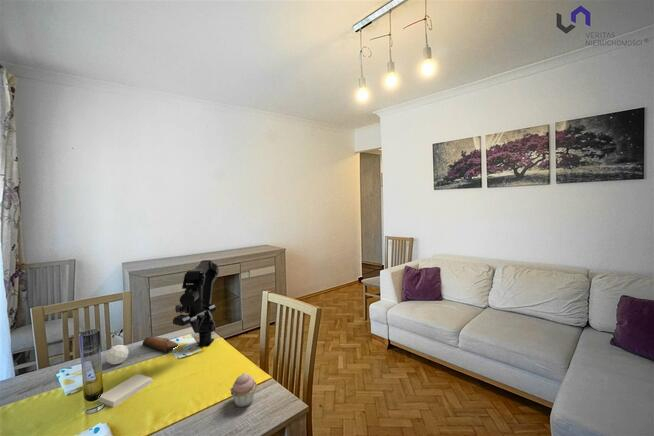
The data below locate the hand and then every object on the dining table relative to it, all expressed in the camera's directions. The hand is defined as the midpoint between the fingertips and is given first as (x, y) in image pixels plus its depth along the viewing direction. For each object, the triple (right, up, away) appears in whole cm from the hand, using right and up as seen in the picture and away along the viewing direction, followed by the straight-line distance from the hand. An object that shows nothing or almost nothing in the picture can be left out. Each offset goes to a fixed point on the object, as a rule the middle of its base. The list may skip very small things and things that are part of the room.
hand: (195, 332), depth 124 cm
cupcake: (+29, -14, -26) cm, 42 cm away
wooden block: (-13, -12, -15) cm, 23 cm away
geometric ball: (-33, -12, -3) cm, 35 cm away
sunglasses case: (-22, -12, +12) cm, 28 cm away
